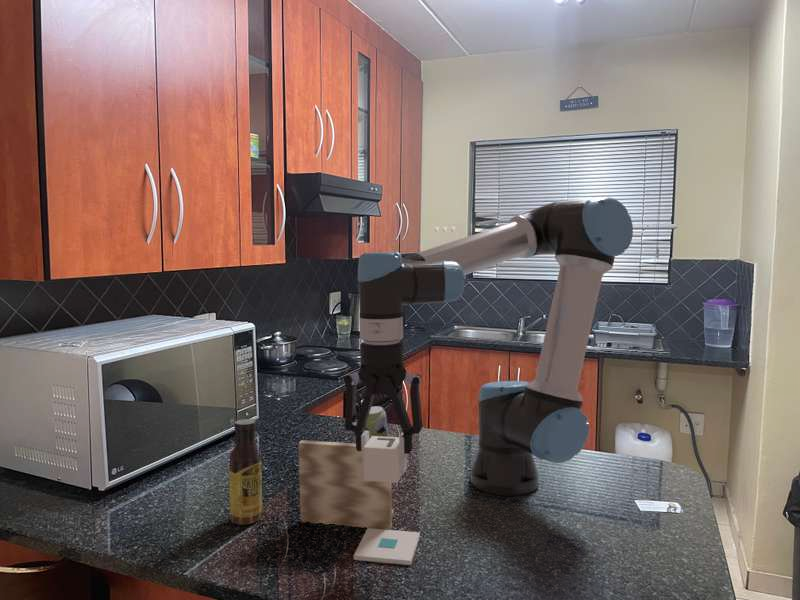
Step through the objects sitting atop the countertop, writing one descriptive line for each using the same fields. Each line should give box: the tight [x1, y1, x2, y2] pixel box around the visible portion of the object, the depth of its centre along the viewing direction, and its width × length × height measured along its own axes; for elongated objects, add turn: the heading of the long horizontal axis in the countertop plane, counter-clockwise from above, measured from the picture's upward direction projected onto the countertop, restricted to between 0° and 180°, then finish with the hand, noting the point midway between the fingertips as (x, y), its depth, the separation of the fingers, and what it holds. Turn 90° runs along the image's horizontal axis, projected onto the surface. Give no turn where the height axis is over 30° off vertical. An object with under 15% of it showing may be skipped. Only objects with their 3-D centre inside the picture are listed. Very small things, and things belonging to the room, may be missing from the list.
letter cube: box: [364, 436, 403, 484], centre depth 106 cm, size 6×6×6 cm
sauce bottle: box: [228, 418, 263, 526], centre depth 118 cm, size 6×6×20 cm
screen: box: [298, 439, 395, 530], centre depth 118 cm, size 18×6×16 cm, turn 79°
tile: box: [353, 528, 421, 566], centre depth 107 cm, size 10×10×1 cm
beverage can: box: [364, 405, 390, 439], centre depth 155 cm, size 6×7×12 cm
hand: (384, 469), depth 106 cm, fingers closed on letter cube, 6 cm apart
